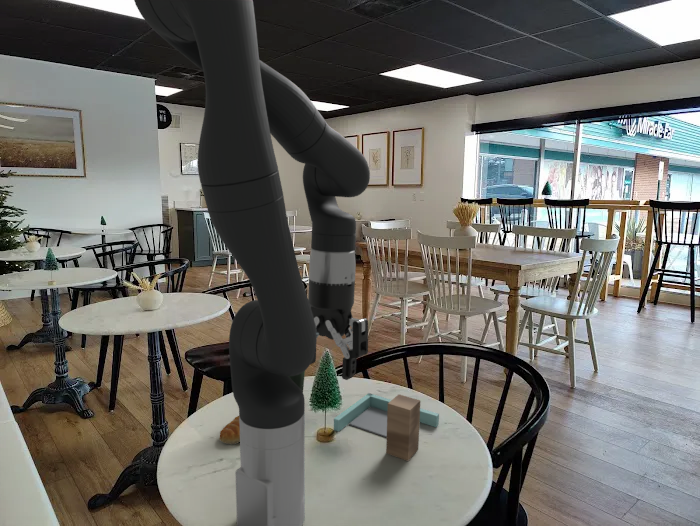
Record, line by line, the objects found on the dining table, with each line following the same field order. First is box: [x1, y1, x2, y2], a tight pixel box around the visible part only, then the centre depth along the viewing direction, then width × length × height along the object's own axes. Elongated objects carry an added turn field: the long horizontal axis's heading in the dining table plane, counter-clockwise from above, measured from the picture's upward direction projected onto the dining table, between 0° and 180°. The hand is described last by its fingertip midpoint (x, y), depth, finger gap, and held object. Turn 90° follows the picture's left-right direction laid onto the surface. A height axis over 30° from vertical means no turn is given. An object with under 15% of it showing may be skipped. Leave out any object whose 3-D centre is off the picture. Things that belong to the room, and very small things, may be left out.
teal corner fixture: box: [333, 392, 440, 439], centre depth 96 cm, size 14×17×2 cm
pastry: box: [218, 415, 240, 445], centre depth 92 cm, size 9×7×4 cm
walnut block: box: [385, 394, 421, 462], centre depth 87 cm, size 4×4×10 cm
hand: (328, 370), depth 79 cm, fingers open, 8 cm apart
